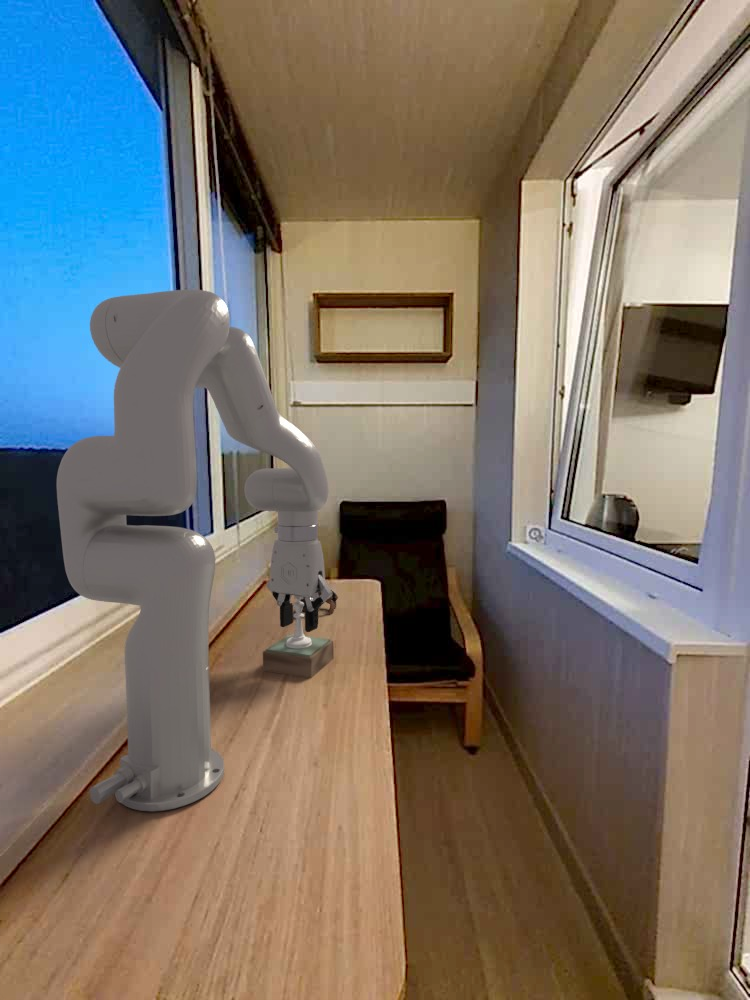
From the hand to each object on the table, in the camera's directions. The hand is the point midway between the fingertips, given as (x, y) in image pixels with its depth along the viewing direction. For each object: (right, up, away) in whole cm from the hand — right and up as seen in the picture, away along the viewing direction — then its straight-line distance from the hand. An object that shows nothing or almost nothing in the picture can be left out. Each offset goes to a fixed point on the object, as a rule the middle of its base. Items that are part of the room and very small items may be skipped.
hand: (298, 626), depth 104 cm
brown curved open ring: (-1, -5, +35) cm, 36 cm away
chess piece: (0, -4, 0) cm, 4 cm away
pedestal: (0, -7, +1) cm, 7 cm away
